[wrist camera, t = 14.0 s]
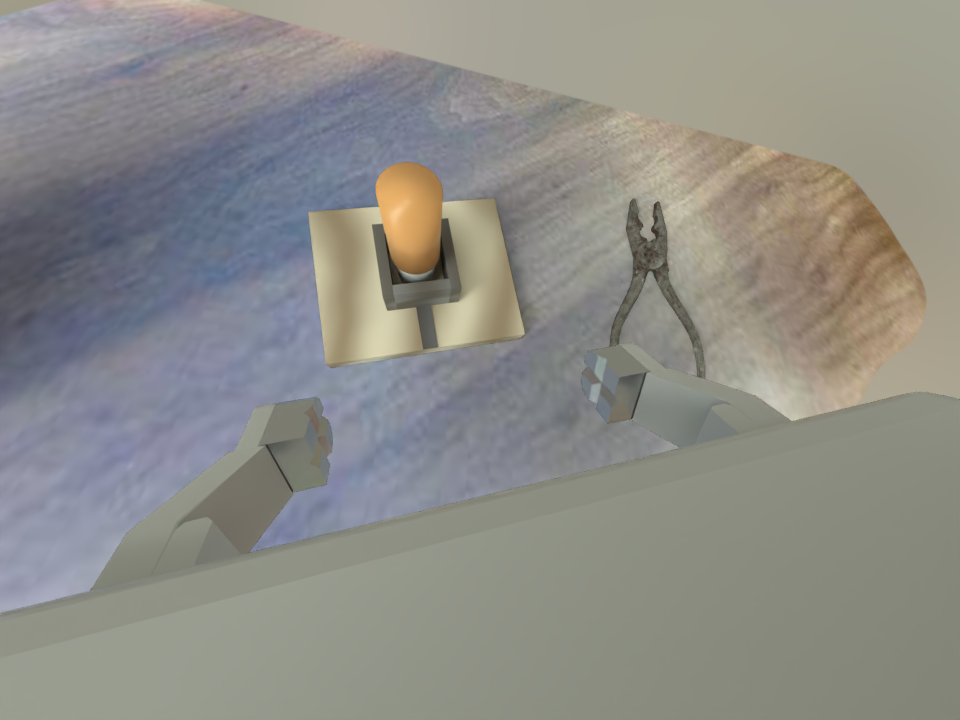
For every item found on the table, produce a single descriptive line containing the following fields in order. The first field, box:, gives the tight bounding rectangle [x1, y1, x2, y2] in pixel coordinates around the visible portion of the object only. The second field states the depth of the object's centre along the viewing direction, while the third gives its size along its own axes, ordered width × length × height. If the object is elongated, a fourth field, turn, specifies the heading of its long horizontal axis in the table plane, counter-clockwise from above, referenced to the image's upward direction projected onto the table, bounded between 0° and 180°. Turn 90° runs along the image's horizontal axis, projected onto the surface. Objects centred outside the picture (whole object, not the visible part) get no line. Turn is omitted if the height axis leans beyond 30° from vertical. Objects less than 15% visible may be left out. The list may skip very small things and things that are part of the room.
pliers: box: [610, 199, 705, 379], centre depth 33 cm, size 10×1×20 cm
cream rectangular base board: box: [308, 198, 525, 368], centre depth 27 cm, size 16×13×4 cm
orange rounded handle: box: [376, 162, 443, 284], centre depth 23 cm, size 4×4×10 cm
